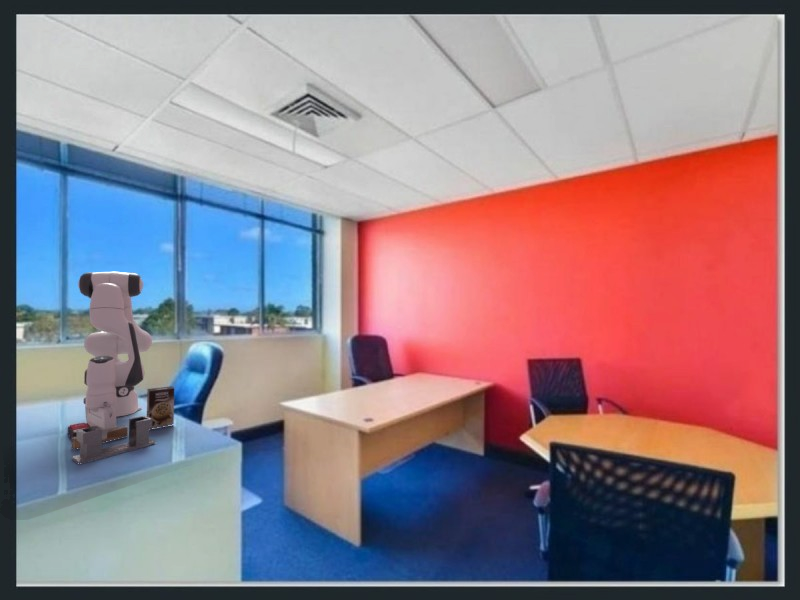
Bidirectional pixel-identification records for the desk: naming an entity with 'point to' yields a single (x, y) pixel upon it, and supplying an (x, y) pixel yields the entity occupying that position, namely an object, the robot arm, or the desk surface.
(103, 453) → the bracket
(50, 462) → the desk surface
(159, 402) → the coffee box
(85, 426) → the calculator
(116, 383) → the robot arm
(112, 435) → the rail
